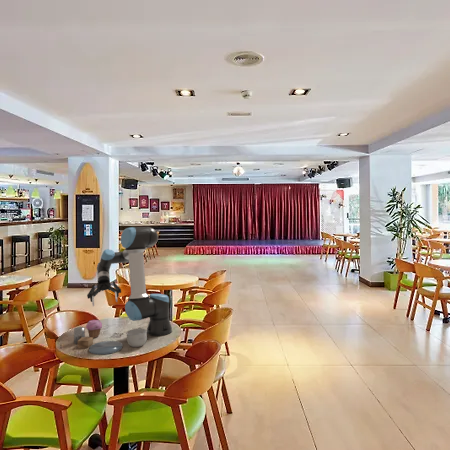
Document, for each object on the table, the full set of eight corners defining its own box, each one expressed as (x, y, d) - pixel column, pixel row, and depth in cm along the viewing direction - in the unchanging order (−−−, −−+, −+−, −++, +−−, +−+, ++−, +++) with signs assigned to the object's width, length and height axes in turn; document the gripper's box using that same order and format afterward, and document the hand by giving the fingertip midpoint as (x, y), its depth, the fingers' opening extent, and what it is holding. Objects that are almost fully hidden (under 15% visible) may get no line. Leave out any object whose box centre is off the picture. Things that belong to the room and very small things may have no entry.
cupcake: (83, 336, 216) (83, 319, 215) (97, 333, 222) (97, 317, 221) (90, 340, 209) (90, 323, 209) (104, 336, 215) (104, 319, 215)
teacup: (141, 349, 195) (141, 334, 194) (123, 348, 197) (122, 333, 197) (152, 340, 208) (152, 326, 208) (134, 339, 210) (134, 325, 210)
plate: (126, 343, 204) (126, 341, 204) (114, 355, 187) (114, 352, 187) (97, 342, 205) (97, 340, 205) (83, 353, 188) (83, 351, 188)
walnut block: (93, 344, 203) (92, 337, 203) (88, 348, 197) (88, 340, 197) (82, 344, 203) (82, 337, 203) (77, 348, 197) (77, 340, 197)
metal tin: (86, 340, 208) (86, 326, 208) (81, 344, 203) (81, 330, 203) (77, 340, 209) (77, 326, 209) (72, 343, 203) (72, 329, 203)
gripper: (123, 280, 244) (126, 302, 227) (84, 287, 237) (84, 310, 220) (122, 271, 240) (125, 294, 223) (82, 278, 233) (82, 302, 216)
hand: (104, 302), depth 222 cm, fingers open, 13 cm apart
